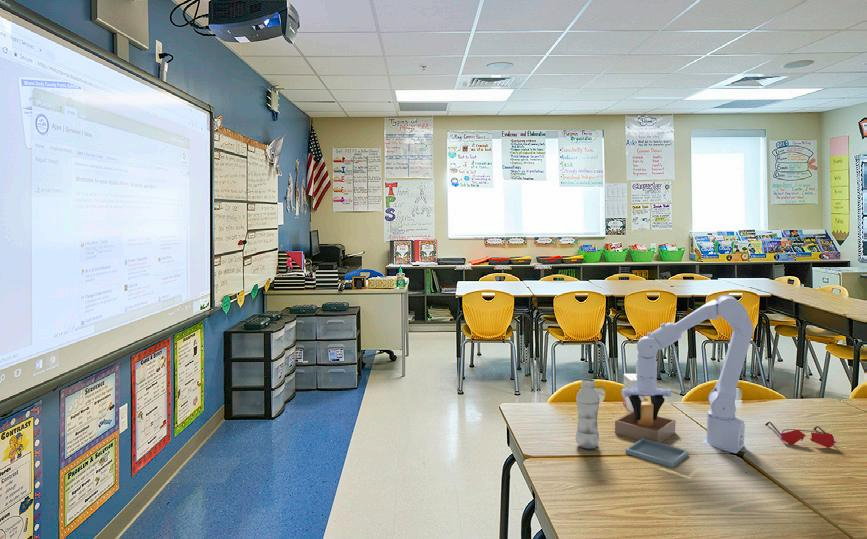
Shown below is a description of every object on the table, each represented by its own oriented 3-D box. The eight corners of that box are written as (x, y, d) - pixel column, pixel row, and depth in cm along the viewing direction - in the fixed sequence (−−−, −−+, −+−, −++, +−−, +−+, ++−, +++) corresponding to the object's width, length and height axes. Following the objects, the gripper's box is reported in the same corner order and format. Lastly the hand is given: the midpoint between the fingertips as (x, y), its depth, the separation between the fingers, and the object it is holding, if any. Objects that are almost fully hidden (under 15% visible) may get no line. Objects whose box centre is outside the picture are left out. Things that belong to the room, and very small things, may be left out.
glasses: (780, 445, 157) (781, 429, 157) (764, 425, 173) (765, 410, 172) (836, 451, 153) (837, 434, 152) (814, 430, 169) (815, 415, 168)
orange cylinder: (655, 423, 164) (656, 404, 164) (649, 427, 161) (650, 407, 161) (641, 419, 167) (642, 401, 167) (635, 423, 164) (635, 404, 164)
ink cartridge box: (621, 405, 192) (622, 365, 191) (635, 405, 192) (636, 365, 191) (630, 413, 184) (631, 371, 182) (644, 413, 183) (645, 371, 182)
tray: (688, 457, 148) (688, 451, 148) (672, 469, 141) (672, 463, 140) (642, 443, 157) (642, 438, 157) (625, 455, 150) (625, 449, 150)
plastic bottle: (600, 452, 152) (601, 384, 150) (575, 450, 153) (577, 382, 151) (598, 443, 158) (599, 377, 156) (574, 441, 159) (575, 376, 158)
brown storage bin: (675, 434, 164) (675, 420, 164) (657, 447, 155) (657, 432, 155) (633, 423, 174) (634, 410, 173) (614, 434, 165) (615, 420, 164)
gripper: (664, 372, 167) (663, 414, 168) (618, 372, 167) (617, 414, 168) (674, 378, 160) (673, 422, 161) (626, 378, 160) (625, 422, 161)
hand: (645, 418), depth 164 cm, fingers closed on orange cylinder, 4 cm apart
